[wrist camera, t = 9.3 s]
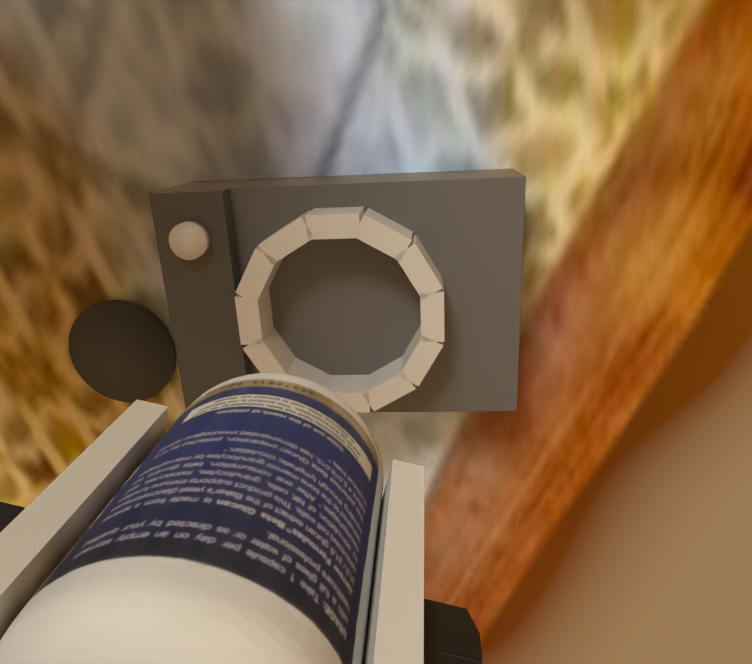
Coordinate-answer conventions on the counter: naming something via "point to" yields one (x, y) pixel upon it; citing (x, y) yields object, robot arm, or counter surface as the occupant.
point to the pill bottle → (225, 542)
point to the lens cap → (122, 350)
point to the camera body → (350, 285)
